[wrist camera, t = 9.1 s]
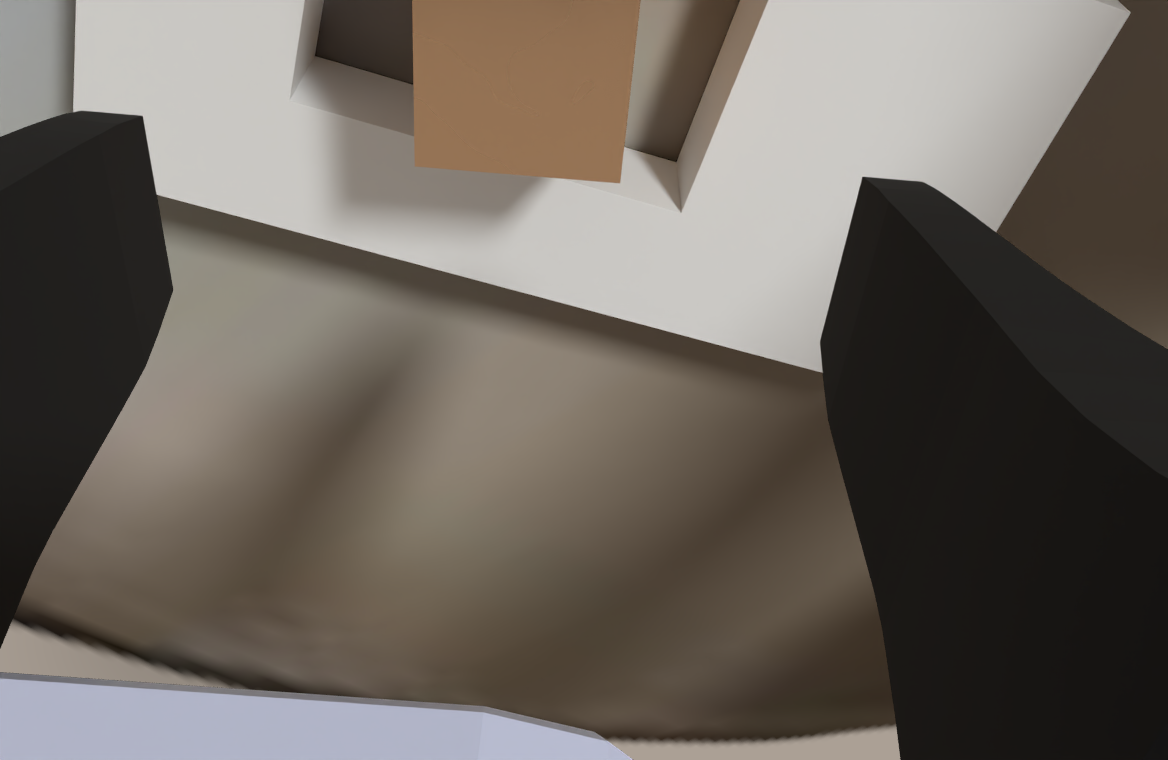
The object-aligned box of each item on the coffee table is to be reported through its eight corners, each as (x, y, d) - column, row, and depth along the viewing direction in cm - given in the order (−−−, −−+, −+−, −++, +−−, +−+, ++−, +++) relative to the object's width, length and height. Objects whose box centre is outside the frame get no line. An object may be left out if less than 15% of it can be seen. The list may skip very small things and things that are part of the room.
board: (1087, -28, 19) (1130, 12, 17) (878, 335, 24) (896, 393, 22) (135, -358, 16) (84, -345, 15) (112, 123, 21) (71, 171, 20)
